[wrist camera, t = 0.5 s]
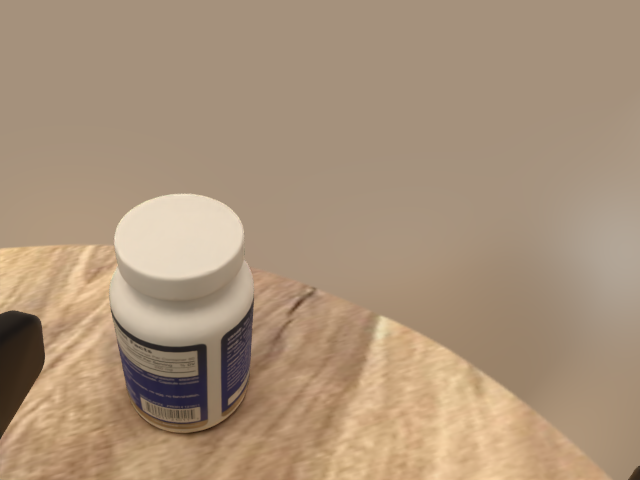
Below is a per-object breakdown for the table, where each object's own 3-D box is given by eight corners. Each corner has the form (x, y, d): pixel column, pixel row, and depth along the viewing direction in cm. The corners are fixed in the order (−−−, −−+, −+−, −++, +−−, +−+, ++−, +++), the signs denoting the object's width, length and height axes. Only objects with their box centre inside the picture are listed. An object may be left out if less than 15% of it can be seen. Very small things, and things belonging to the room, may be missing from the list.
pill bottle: (212, 319, 30) (212, 168, 23) (271, 398, 27) (290, 251, 20) (107, 367, 27) (73, 210, 21) (160, 462, 24) (140, 314, 17)
